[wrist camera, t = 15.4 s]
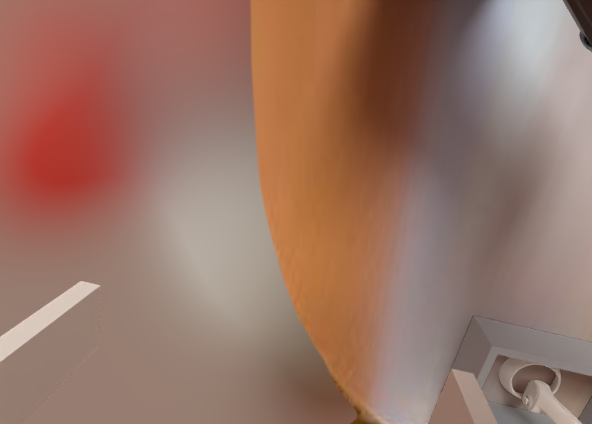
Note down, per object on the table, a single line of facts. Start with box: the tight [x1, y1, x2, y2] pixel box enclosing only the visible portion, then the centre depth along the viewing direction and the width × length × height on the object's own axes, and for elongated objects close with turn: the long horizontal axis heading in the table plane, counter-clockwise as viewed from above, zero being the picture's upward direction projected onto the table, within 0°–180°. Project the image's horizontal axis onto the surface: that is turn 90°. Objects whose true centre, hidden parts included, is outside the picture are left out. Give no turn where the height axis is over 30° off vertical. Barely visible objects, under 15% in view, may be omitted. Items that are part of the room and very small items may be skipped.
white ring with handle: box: [499, 357, 582, 424], centre depth 45 cm, size 8×12×7 cm
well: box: [452, 316, 592, 424], centre depth 45 cm, size 14×20×6 cm
